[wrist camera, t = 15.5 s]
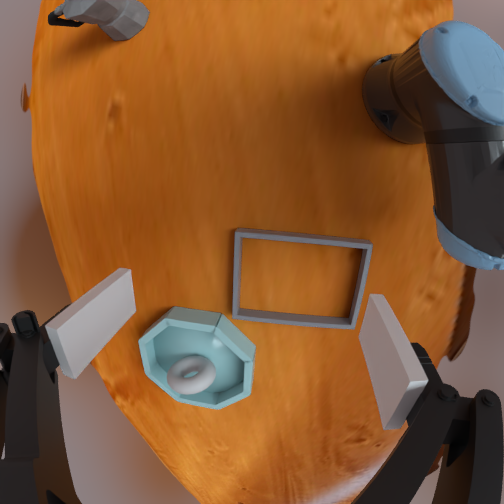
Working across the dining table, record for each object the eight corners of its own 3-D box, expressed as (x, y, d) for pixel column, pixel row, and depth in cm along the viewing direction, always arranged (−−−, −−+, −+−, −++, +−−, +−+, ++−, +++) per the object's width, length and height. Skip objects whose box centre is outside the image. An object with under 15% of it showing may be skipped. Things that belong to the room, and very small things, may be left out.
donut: (179, 365, 57) (163, 396, 47) (174, 352, 56) (156, 384, 46) (223, 364, 55) (211, 399, 46) (218, 351, 54) (206, 386, 45)
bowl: (258, 317, 51) (255, 331, 47) (251, 400, 59) (249, 414, 55) (143, 301, 54) (133, 311, 50) (157, 382, 61) (150, 394, 57)
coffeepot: (158, -8, 34) (111, -51, 17) (161, 26, 36) (108, -15, 19) (92, 24, 36) (36, -1, 19) (93, 58, 39) (29, 38, 22)
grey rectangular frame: (369, 240, 44) (373, 244, 42) (352, 321, 49) (354, 329, 47) (237, 227, 46) (234, 231, 44) (235, 311, 52) (232, 318, 49)
